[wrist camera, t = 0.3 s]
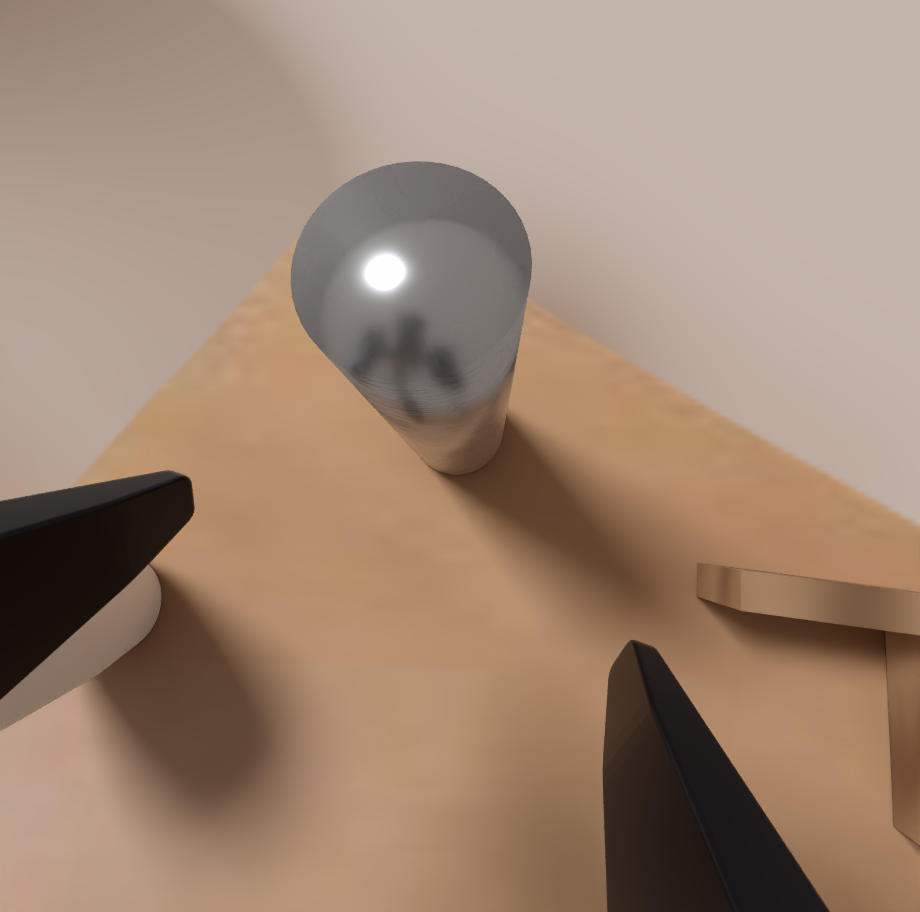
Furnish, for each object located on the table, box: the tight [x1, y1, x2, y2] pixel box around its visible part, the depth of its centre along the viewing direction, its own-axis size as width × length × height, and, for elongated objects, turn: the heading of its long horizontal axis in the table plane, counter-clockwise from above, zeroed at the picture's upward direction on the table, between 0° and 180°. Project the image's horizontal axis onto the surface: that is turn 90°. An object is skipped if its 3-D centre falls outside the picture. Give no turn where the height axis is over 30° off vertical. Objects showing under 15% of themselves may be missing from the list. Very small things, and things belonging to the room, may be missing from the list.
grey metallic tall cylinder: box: [291, 162, 532, 475], centre depth 15 cm, size 5×5×14 cm
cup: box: [0, 564, 161, 731], centre depth 17 cm, size 8×8×10 cm
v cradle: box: [697, 563, 920, 845], centre depth 17 cm, size 8×14×4 cm, turn 38°
